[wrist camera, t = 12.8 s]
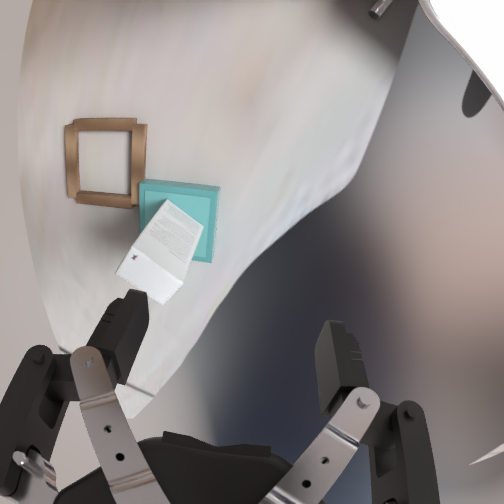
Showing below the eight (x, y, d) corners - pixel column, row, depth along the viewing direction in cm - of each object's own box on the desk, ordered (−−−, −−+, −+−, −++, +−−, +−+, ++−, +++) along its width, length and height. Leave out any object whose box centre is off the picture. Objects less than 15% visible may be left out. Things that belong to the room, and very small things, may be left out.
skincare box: (150, 221, 38) (112, 273, 27) (167, 197, 36) (130, 244, 26) (187, 249, 40) (162, 307, 29) (206, 226, 38) (184, 282, 28)
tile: (145, 178, 37) (139, 183, 35) (220, 187, 37) (217, 192, 36) (145, 245, 42) (140, 253, 40) (213, 255, 42) (211, 263, 41)
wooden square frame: (70, 118, 33) (65, 120, 32) (147, 118, 33) (144, 119, 32) (72, 199, 39) (68, 202, 38) (144, 206, 39) (141, 210, 38)
